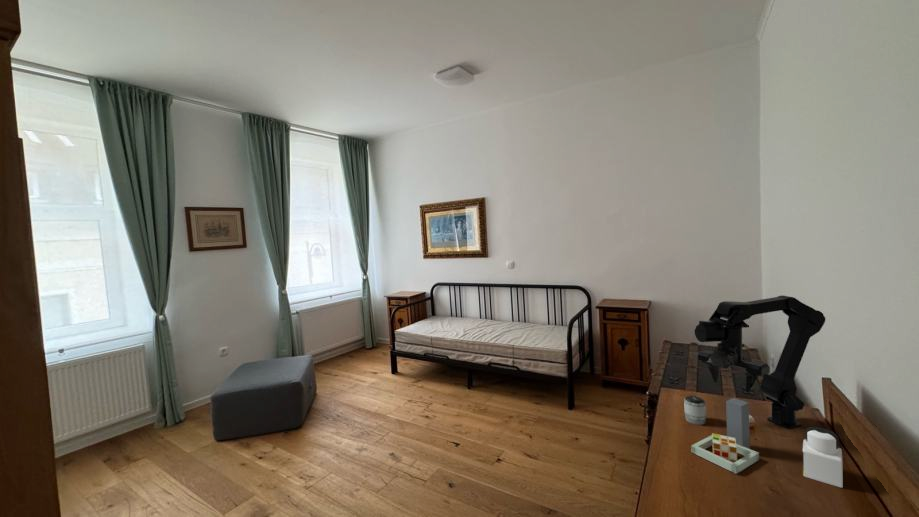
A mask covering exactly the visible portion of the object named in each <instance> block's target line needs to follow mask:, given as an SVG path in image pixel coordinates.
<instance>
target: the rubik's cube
mask: <svg viewBox="0 0 919 517" xmlns="http://www.w3.org/2000/svg"><path fill="white" fill-rule="evenodd" d="M711 435H712V446H711V447H712V453H713V454H715V455H718V456H720V457H722V458H724V459H726V460H728V461H731V462H733V463H734V462H736V461H738V453H737V445H736V439H735V438H733V437H727V435H721V434H719V433H718V434H717V433H713V432H712V433H711Z"/></svg>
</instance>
